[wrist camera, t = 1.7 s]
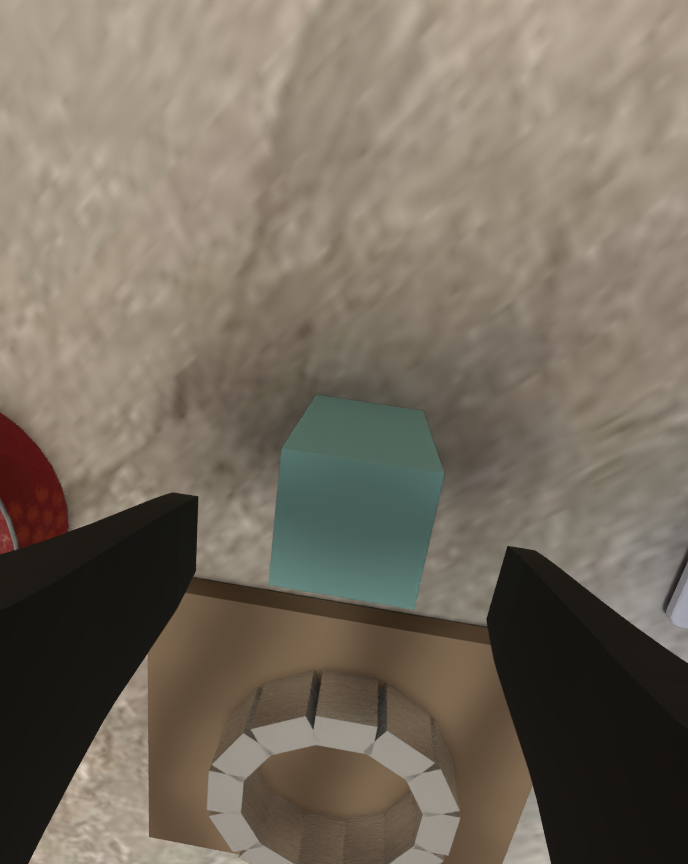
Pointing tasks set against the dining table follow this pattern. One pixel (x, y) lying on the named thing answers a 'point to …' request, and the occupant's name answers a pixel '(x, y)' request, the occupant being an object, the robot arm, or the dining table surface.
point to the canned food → (27, 492)
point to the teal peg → (356, 502)
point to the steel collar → (341, 729)
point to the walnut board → (316, 650)
